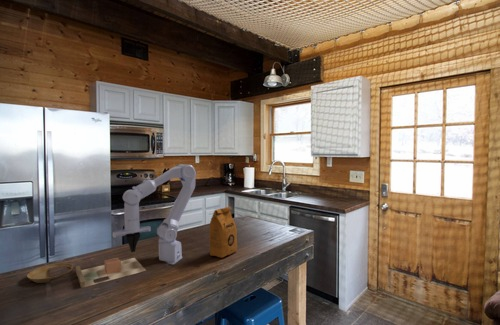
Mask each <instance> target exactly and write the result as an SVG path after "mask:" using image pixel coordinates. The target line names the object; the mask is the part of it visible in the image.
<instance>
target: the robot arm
mask: <svg viewBox="0 0 500 325" xmlns="http://www.w3.org/2000/svg"><path fill="white" fill-rule="evenodd" d="M196 176H197V172H196V170H195V167H194V166H193V165H192V164H183V163H180V164H178V165H176V166H173V167H171V168H170V169H168V170H167V171H165V172H163V173H162V174H161V175H159V176H157V177H156V178H154V179H153V180H151V179H144V180H142V182H141V183H139V184H138V185H136V186H135V185H134V186H132V187H131V188H132V189H128V190H126V191H124V192H123V195H122V196H121V197H122V200H123V202H124V205H123V206H124V208H123V209H124V210H123V211H124V214H123V216H124V228H123V229H119V230H116V231H113V232H112V238H113V239H115V238H117V237H123V236H124V238H125V239H126V241H127V244H128V246H129V251H130V253H134V252H136V248H137V245H138V242H139V239H140V238H141V233H146V232H151V231H152V230H151V229H152V228H151V226H150V225H148V226H140V225H141V224H140V201H141V200H143V199H145V197H148V196H149V195H151V194H152V193H154V192H155V191H156V190H157V187H159V186H161V185H162V184H164V183H166V182H168V181H170V180H172V179H177V178H178V179H179V180H180V182H181V184H182V187H181V189H180V190H179V193H178V196H177V197H176V199H175V202H174V204H173V206H172V208H171V209H170V211H169V214H168V216H167V217H166V218H165V219H163V221H162V223H161V224H159V226H158V227H157V229H156V235H157V236H159V238H158V259H159V261H163V262H165V263H167V264H168V265H175V264H177V263H178V262H179V261H180V260H182V259H183V256H182V254H183V253H182V252H183V251H182V242H181V241H179V240H176V239H177V237H178V230H179V227H180V226H179V221H180V220H181V218H182V215H183V214H184V211H185V209H186V207H187V205H188V203H189V200H190V199H191V196H192V195H193V192H194V191H195V188H196Z"/></svg>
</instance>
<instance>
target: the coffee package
mask: <svg viewBox="0 0 500 325" xmlns="http://www.w3.org/2000/svg"><path fill="white" fill-rule="evenodd" d="M231 211H232V207H231V206H226V207H222V208H218V209H216V210H214V212H213V214H212V217H211V218H210V221H209V222H210V223H209V238H208V239H209V255H210V256H213V257H217V258H225V257H226V256H230V255H231V254H234V253H236V252H237V250H238V240H237V238H238V236H237V235H238V231H237V230H238V229H237V226H236V222H235V219H233V216H232V212H231Z"/></svg>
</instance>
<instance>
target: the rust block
mask: <svg viewBox="0 0 500 325" xmlns="http://www.w3.org/2000/svg"><path fill="white" fill-rule="evenodd" d="M121 261H122V260H121V259H120V258H119V257H114V258H109V259H104V261H103V262H104V264H103V265H105V272H106V273H107V274H111V273H115V272H119V271H121Z"/></svg>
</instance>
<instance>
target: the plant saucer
mask: <svg viewBox="0 0 500 325" xmlns="http://www.w3.org/2000/svg"><path fill="white" fill-rule="evenodd" d="M59 267H67V268H70V269H69V270H67V271H66V272H63V273H61V274H59V275H55V276H51V270H50V269H52V268H59ZM73 269H74V265H73V264H72V263H70V262H69V263H68V262H62V263H60V262H59V263H52V264H47V265H44V266H41V267H38V268H36V269H33V270H31V271H30V272H28V274H27V275H26V277H27V279H29V280H30V281H32V282H34V283H37V284H43V283H50V282H51V281H52V280H54V279H58V278H61V277H64V276H66V275H68V274H69V273H71V271H72V270H73Z"/></svg>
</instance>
